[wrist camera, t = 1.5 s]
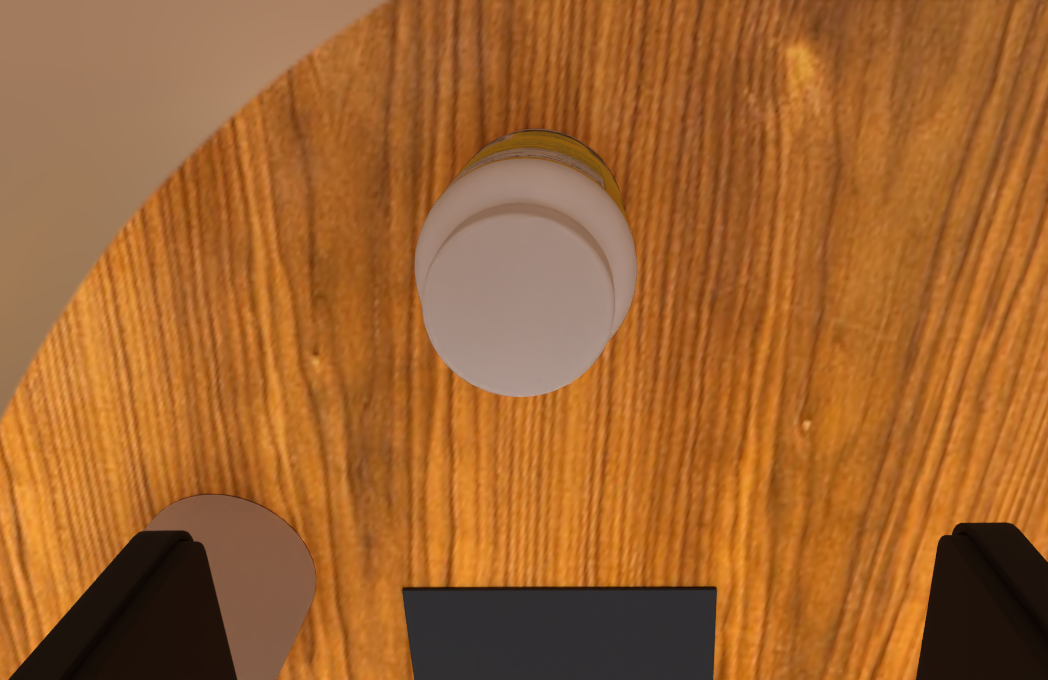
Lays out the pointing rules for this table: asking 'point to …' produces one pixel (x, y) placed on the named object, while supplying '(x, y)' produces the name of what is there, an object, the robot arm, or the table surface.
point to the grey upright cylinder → (250, 576)
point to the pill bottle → (526, 264)
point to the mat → (561, 633)
